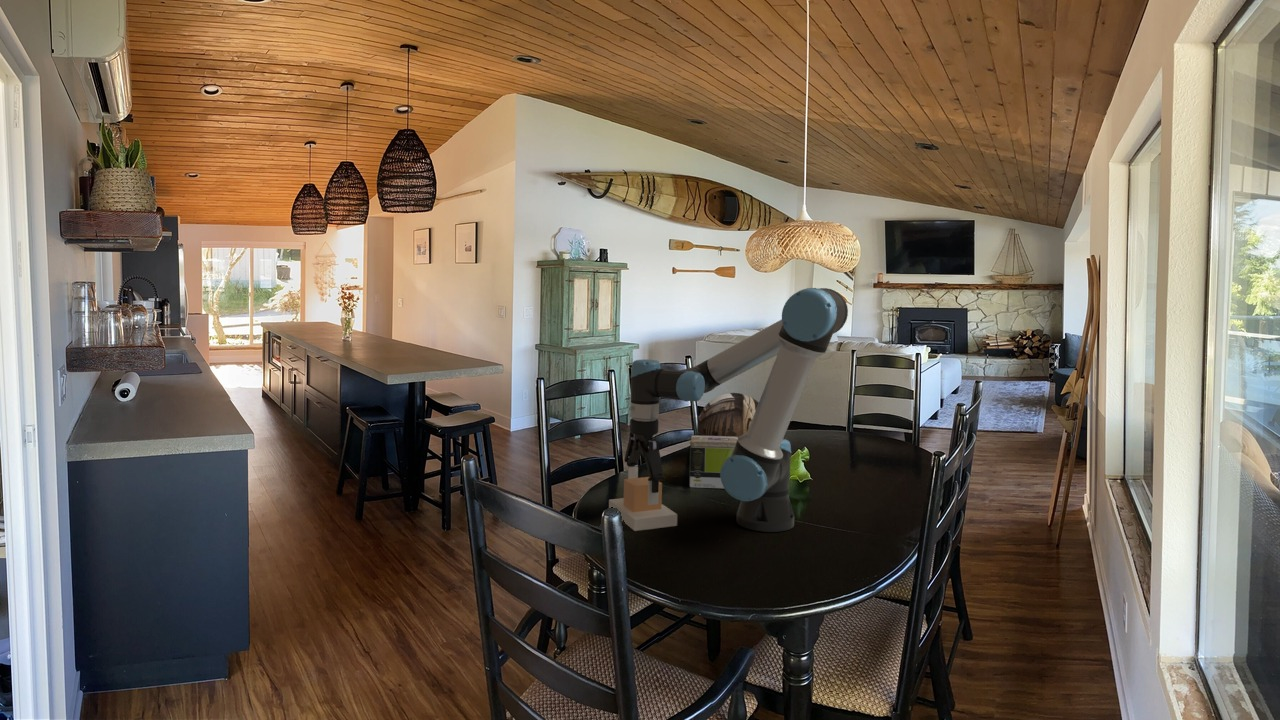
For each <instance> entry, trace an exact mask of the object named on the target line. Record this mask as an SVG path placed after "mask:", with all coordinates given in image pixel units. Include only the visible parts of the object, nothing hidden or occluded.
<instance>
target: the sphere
mask: <svg viewBox="0 0 1280 720" xmlns="http://www.w3.org/2000/svg"><path fill="white" fill-rule="evenodd" d="M758 403H759V401H758V400H756V399H755V398H754V397H752V396H750V395H746V394H744V393H739V392H729V393H728V392H727V393H724V394H720V395H718V396H716V397H714V398H712V399H711V400H710V401H709V402H708V403H707V404H706V405H705V406H704V407H703V409H702V410H701V411H700V414H699V415H698V420H697V426H696V433H697V435H698V436H735V437H738V438H739V437H740V436H742V435H744V434H746V433H747V431H748V429H749V426H750V424H751V421H752V419H753V416H754V414H755V411H756V408H757V406H758Z"/></svg>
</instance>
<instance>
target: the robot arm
mask: <svg viewBox="0 0 1280 720" xmlns="http://www.w3.org/2000/svg"><path fill="white" fill-rule="evenodd" d="M848 316H849V308H848V304H847V301H846V300H845V298H844V297H843V295H842V294H841V293H839V292H837V291H836V290H834V289H831V288H826V287H823V288H822V287H821V288H819V287H817V288H816V287H807V288H804V289H801V290H799V291H797V292H795V293H793V294H792V295H791V296H790V297H789V298H788V299H787V300H786V301H785V304H784V305H783V308H782V310H781V319H780V320H778V321H776V322H775V323H773V324H771V325H769V326H767V327H765V328H764V329H761V330H759V331H758V332H756V333H754V334H752V335H751V336H748V337H746V338H745V339H743V340H741V341H739V342H738V343H736V344H734V345H732V346H730V347H728V348H727V349H725V350H723V351H721V352H719V353H717V354H716V355H714V356H712V357H709V359H706V360H704V361H703V362H702V361H701V362H700V363H699V364H697V365H695V366H691V367H688V368H683V369H680V370H679V369H677V370H675V369H674V370H673V369H664V368H661V363H660V361H659V360H658V359H657V360H655V359H645V358H644V359H637V360H634V361H633V362H632V363H631V373H630V406H629V407H628V409H629V411H630V412H629V413H630V417H631V419H630V420H629V435H628V436H629V440H628V442H627V445H626V446H627V447H626V450H625V451H626V452H625V455H624V459H623V460H624V463H626V466H627V479H632V478H639V465H640V464H639V461H640V458H641V456H642V458H644V461H645V465H646V469H647V473H648V477H650V478H648V505H654V504H658V503H659V482H660V480H664V479H665V477H664V470H663V466H662V459H661V453H660V442H659V440H654V436H655V435H657V434H658V433H659V422H660V421H659V419H658V418H659V417H660V399H666V400H675V401H676V400H677V401H683V402H699V401H700V400H701V399H702V397H703V396H704V394H707V393H709V392H711V391H713V390H714V389H715V388H717V387H718V386H720V385H722V384H724V383H726V382H727V381H728V382H729V380H732V379H734V378H735V377H738V376H740V375H741V374H743V373H745V372H747V371H750V370H751V369H753V368H755V367H756V366H759V365H760V364H762V363H764V362H766V361H769V360H770V359H772V358H774V357H776V358H775V360H774V363H773V366H772V368H771V371H770V373H769V375H768V378H767V380H766V383H765V385H764V389H763V391H762V393H761V396H760V398H759V401H758V402H759V403H758V406H757V408H756V411H755V414H754V416H753V419H752V421H751V424H750V426H749V429H748V431H747V433H746V434H744V435H742V436H740V437H739V438H738V440H737V443H736V445H735V448H734V450H733V453H732V455H731V457H729V458H728V459H727V460H726V461H725V462H724V464H723V465H722V468H721V472H720V478H721V482H722V484H723V486H724V489H723V490H725V492H726V493H727V494H728V495H730V496H731V497H732V498H734V499H735V500H737V501H740V503H739V506H738V508H737V511H736V523H737V524H738V525H739V526H741V527H742V528H745V529H748V530H752V531H756V532H757V531H758V532H766V533H777V532H785V531H786V532H787V531H789V530H791V529H792V528H794V526H795V514H794V511H793V508H792V503H791V500H790V497H789V496H790V494H789V493H790V477H791V475H790V474H791V457H792V456H791V455H792V447H791V446H792V445H791V441H789V440H787V439H786V438H785V439H784V437H785V435H786V433H787V431H788V428H789V425H790V423H791V420H792V418H793V415H794V413H795V410H796V408H797V406H798V403H799V401H800V398H801V396H802V393H803V391H804V388H805V386H806V383H807V381H808V378H809V376H810V373H811V371H812V368H813V366H814V363H815V361H816V359H817V358H818V357H820V356H822V355H825V354H826V352H827V350H828V348H829V344H830V342H831V340H832V337H833V335H834V334H836V333H838V332H839V331H840V330H841V329H842V328H843V327H844V326H845V324H846V323H847V319H848Z"/></svg>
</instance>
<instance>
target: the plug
mask: <svg viewBox="0 0 1280 720" xmlns="http://www.w3.org/2000/svg"><path fill="white" fill-rule="evenodd" d="M648 478H650V476H645V477H643V476H642V477H638V478H632V479H628V478H625V479H623V498H624V502H623V505H625V506H626V507H627V508H629V509H630V510H631V511H633V512H641V511H650V510H658V509H661V507H662V503H663V502H662V501H663V499H662V498H663V495H662V494H663V482H660V481H659V503H658V504H654V505H648Z"/></svg>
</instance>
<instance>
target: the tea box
mask: <svg viewBox="0 0 1280 720" xmlns="http://www.w3.org/2000/svg"><path fill="white" fill-rule="evenodd" d="M690 437H691V438H690V442H689V444H690V445H689V447H690V448H689V487H690V488H699V489H723V490H725V489H724V486H723V484H722V482H721V478H720V472H721V468H722V465H723V464H724V462H725V461H726V460H727V459H728V458H729V457H731V455H732V453H733V450H734V448H735V445H736V443H737V440H738V437H735V436H698V435H691V436H690Z"/></svg>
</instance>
